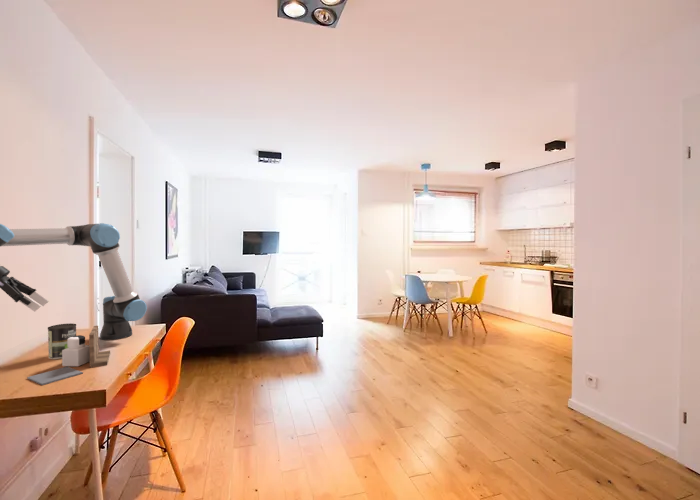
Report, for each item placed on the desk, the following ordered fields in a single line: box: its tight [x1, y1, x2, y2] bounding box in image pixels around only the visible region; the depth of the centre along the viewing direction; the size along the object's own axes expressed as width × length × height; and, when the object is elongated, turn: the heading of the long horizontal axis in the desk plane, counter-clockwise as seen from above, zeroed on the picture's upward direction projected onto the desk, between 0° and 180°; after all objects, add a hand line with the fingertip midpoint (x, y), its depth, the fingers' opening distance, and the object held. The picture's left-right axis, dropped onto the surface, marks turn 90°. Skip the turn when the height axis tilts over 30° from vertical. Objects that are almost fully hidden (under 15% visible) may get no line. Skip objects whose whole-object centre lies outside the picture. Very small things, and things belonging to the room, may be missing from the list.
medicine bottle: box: [61, 335, 90, 367], centre depth 151 cm, size 7×7×12 cm
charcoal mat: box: [26, 366, 84, 386], centre depth 137 cm, size 13×13×1 cm
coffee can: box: [47, 323, 77, 360], centre depth 161 cm, size 10×10×14 cm
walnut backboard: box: [88, 325, 111, 368], centre depth 155 cm, size 18×6×14 cm, turn 31°
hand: (42, 306), depth 144 cm, fingers open, 13 cm apart
